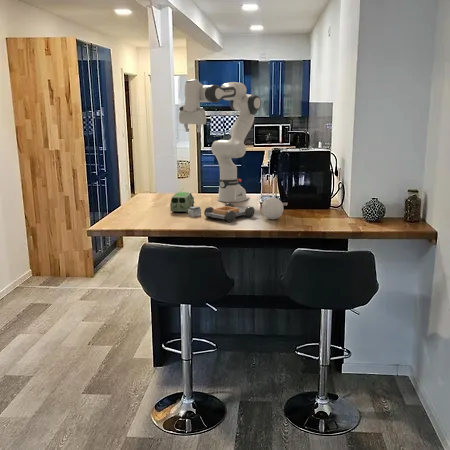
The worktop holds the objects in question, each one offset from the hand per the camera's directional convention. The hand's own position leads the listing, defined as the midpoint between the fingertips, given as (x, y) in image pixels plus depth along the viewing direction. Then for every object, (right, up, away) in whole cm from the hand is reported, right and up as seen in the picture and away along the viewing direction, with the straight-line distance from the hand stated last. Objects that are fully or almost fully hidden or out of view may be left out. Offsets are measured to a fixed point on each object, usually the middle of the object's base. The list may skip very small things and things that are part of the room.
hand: (192, 132), depth 301 cm
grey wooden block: (+2, -50, -11) cm, 51 cm away
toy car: (-6, -46, +6) cm, 47 cm away
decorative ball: (+45, -52, -20) cm, 72 cm away
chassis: (+22, -51, -16) cm, 57 cm away
